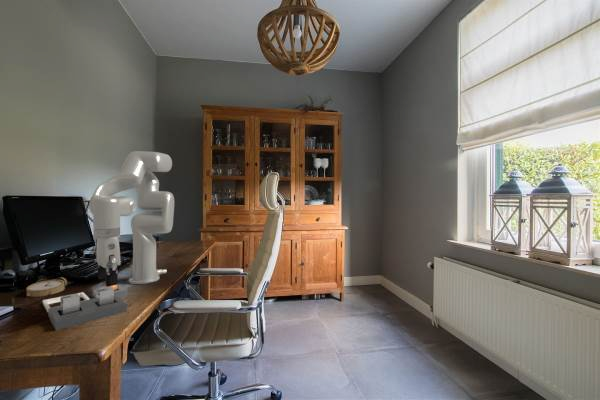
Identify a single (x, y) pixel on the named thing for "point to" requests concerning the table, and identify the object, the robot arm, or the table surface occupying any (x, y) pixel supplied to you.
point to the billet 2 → (105, 296)
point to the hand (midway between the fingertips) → (107, 281)
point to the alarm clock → (46, 287)
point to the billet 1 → (70, 304)
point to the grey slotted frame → (86, 313)
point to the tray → (58, 299)
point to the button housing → (117, 292)
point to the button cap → (113, 287)
